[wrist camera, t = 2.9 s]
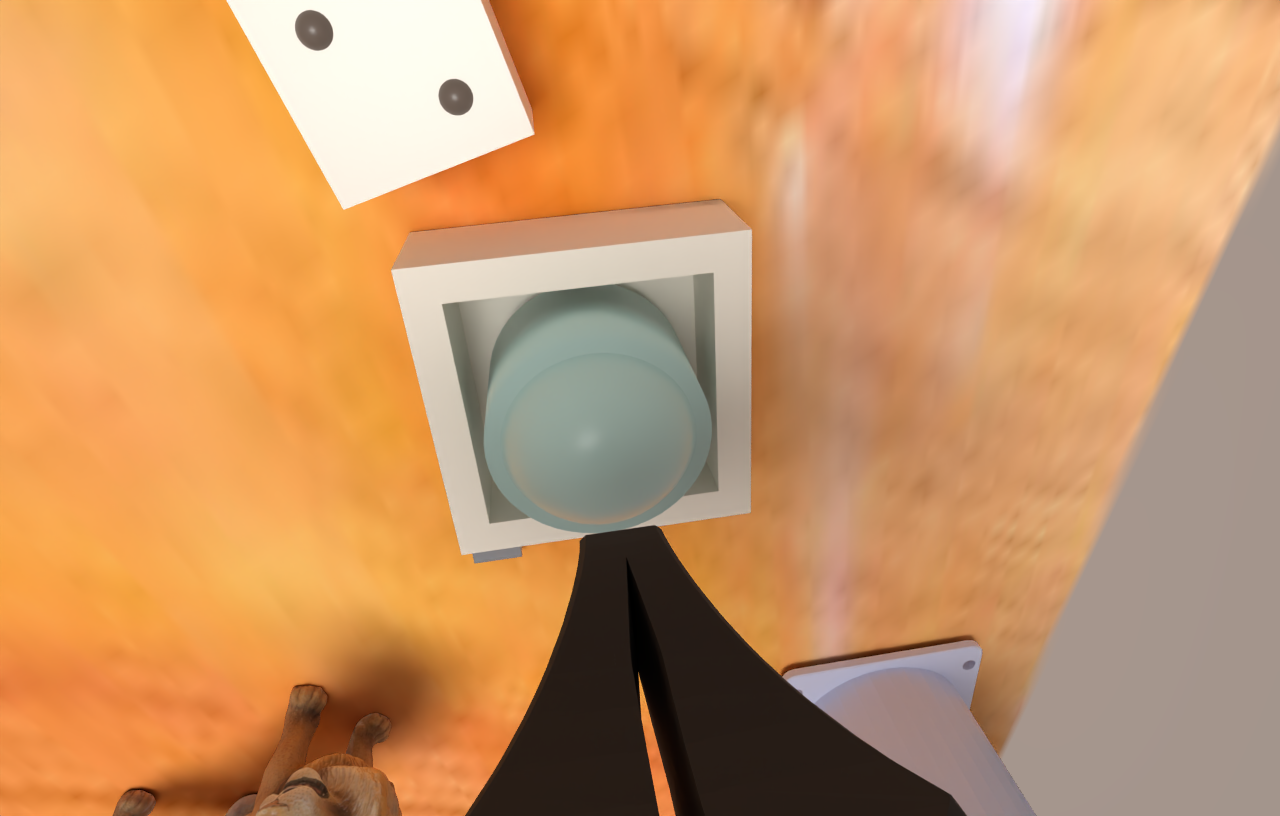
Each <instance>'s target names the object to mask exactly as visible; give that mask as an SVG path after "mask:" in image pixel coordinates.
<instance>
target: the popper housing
mask: <svg viewBox="0 0 1280 816" xmlns="http://www.w3.org/2000/svg"><path fill="white" fill-rule="evenodd" d="M391 271H392V275H393V280H394V284H395V288H396V292H397V296H398V300H399V304H400V308H401V312H402V316H403V320H404V324H405V328H406V332H407V336H408V340H409V344H410V348H411V352H412V356H413V360H414V364H415V368H416V372H417V376H418V381H419V385H420V389H421V393H422V397H423V401H424V405H425V409H426V413H427V417H428V421H429V425H430V429H431V433H432V437H433V441H434V445H435V449H436V453H437V457H438V461H439V465H440V469H441V473H442V477H443V482H444V486H445V490H446V494H447V498H448V502H449V506H450V510H451V514H452V518H453V522H454V526H455V530H456V534H457V538H458V542H459V546H460V550H461V554H462V555H465V554H472V553H479V552H486V551H493V550H500V549H507V548H513V547H520V546H527V545H534V544H541V543H548V542H554V541H561V540H568V539H575V538H582V537H584V536H585V535H589V534H596V533H579V532H570V531H565V530H561V529H557V528H553V527H551V526H548V525H545V524H542V523H540V522H538V521H536V520H534V519H532V518H530V517H529V516H527V515H526V514H524V513H523V512H521V511H520V510H519V509H517V508H516V507H515V506H514V505H513V504H512V503H510V502H509V500H508V499H507V498H506V497H505V496H504V495H503V494H502V493H501V491H500V490H499V488H498V487H497V485H496V484H495V482H494V480H493V478H492V476H491V474H490V471H489V469H488V465H487V462H486V459H485V452H484V425H485V414H486V403H487V392H488V381H489V370H490V361H491V356H492V351H493V348H494V345H495V342H496V340H497V338H498V336H499V334H500V332H501V330H502V328H503V327H504V326H505V324H506V323H507V321H508V320H509V319H510V318H511V317H512V315H513V314H514V313H515V312H516V311H517V310H518V309H519V308H521V307H522V306H523V305H524V304H525V303H527V302H528V301H530V300H531V299H533V298H534V297H536V296H538V295H539V294H541V293H544V292H550V291H558V290H567V289H576V288H584V287H593V286H601V285H610V284H612V285H617V286H620V287H623V288H626V289H629V290H631V291H633V292H635V293H637V294H639V295H641V296H642V297H644V298H645V299H647V300H648V301H650V302H651V303H652V304H653V305H655V306H656V307H657V308H658V309H659V310H660V311H661V312H662V313H663V315H664V316H665V317H666V318H667V319H668V321H669V322H670V324H671V326H672V327H673V329H674V331H675V333H676V335H677V337H678V339H679V341H680V343H681V346H682V348H683V350H684V352H685V354H686V356H687V358H688V361H689V363H690V365H691V367H692V369H693V371H694V373H695V375H696V378H697V380H698V382H699V384H700V386H701V388H702V391H703V393H704V395H705V397H706V400H707V402H708V406H709V410H710V414H711V422H712V438H711V444H710V449H709V453H708V456H707V459H706V462H705V465H704V467H703V469H702V471H701V473H700V474H699V476H698V478H697V479H696V481H695V482H694V484H693V485H692V486H691V488H690V489H689V490H688V491H687V492H686V493H685V494H684V496H683V497H681V498H680V499H679V500H678V501H677V502H676V503H675V504H674V505H672V506H671V507H670V508H668V509H667V510H665V511H664V512H663V513H661V514H659V515H657V516H656V517H654V518H652V519H650V520H648V521H646V522H643V523H641V524H639V525H636V526H633V527H630V528H626V529H631V528H638V527H644V526H651V525H656V526H664V525H671V524H678V523H684V522H691V521H698V520H705V519H712V518H719V517H725V516H732V515H739V514H746V513H751V337H752V229H751V228H750V227H749V226H748V225H747V224H746V223H745V222H744V221H743V220H742V219H741V218H740V217H739V216H738V215H736V214H735V213H734V212H733V211H732V210H731V209H730V208H729V207H728V206H727V205H726V204H725V203H724V202H723V201H722V200H721V199H716V200H707V201H697V202H688V203H679V204H670V205H660V206H651V207H642V208H632V209H623V210H614V211H604V212H595V213H586V214H576V215H567V216H558V217H549V218H539V219H530V220H521V221H511V222H502V223H493V224H483V225H474V226H465V227H455V228H446V229H437V230H428V231H418V232H410V233H409V235H408V237H407V239H406V241H405V243H404V245H403V247H402V249H401V251H400V253H399V255H398V257H397V259H396V261H395V263H394V265H393V267H392V269H391ZM622 530H624V529H622Z"/></svg>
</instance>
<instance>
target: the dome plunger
mask: <svg viewBox="0 0 1280 816" xmlns="http://www.w3.org/2000/svg"><path fill="white" fill-rule="evenodd" d="M711 438H712V422H711V414H710V410H709V406H708V402H707V400H706V397H705V395H704V393H703V391H702V388H701V386H700V384H699V382H698V380H697V378H696V375H695V373H694V371H693V369H692V367H691V365H690V363H689V361H688V358H687V356H686V354H685V352H684V350H683V348H682V346H681V343H680V341H679V339H678V337H677V335H676V333H675V331H674V329H673V327H672V326H671V324H670V322H669V321H668V319H667V318H666V317H665V316H664V315H663V313H662V312H661V311H660V310H659V309H658V308H657V307H656V306H655V305H653V304H652V303H651V302H650V301H648V300H647V299H645V298H644V297H642V296H641V295H639V294H637V293H635V292H633V291H631V290H629V289H626V288H623V287H620V286H617V285H612V284H610V285H601V286H593V287H584V288H576V289H567V290H558V291H550V292H544V293H541V294H539V295H538V296H536V297H534V298H533V299H531V300H530V301H528V302H527V303H525V304H524V305H523V306H522V307H521V308H519V309H518V310H517V311H516V312H515V313H514V314H513V315H512V317H511V318H510V319H509V320H508V321H507V323H506V324H505V326H504V327H503V328H502V330H501V332H500V334H499V336H498V338H497V340H496V342H495V345H494V348H493V351H492V356H491V361H490V370H489V381H488V392H487V403H486V414H485V425H484V452H485V459H486V462H487V465H488V469H489V471H490V474H491V476H492V478H493V480H494V482H495V484H496V485H497V487H498V488H499V490H500V491H501V493H502V494H503V495H504V496H505V497H506V498H507V499H508V500H509V502H510V503H512V504H513V505H514V506H515V507H516V508H517V509H519V510H520V511H521V512H523V513H524V514H526V515H527V516H529V517H530V518H532V519H534V520H536V521H538V522H540V523H542V524H545V525H548V526H551V527H553V528H557V529H561V530H565V531H570V532H579V533H603V532H610V531H617V530H622V529H626V528H630V527H633V526H636V525H639V524H641V523H643V522H646V521H648V520H650V519H652V518H654V517H656V516H657V515H659V514H661V513H663V512H664V511H665V510H667V509H668V508H670V507H671V506H672V505H674V504H675V503H676V502H677V501H678V500H679V499H680V498H681V497H683V496H684V494H685V493H686V492H687V491H688V490H689V489H690V488H691V486H692V485H693V484H694V482H695V481H696V479H697V478H698V476H699V474H700V473H701V471H702V469H703V467H704V465H705V462H706V459H707V456H708V453H709V449H710V444H711Z"/></svg>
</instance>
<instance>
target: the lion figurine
mask: <svg viewBox="0 0 1280 816" xmlns="http://www.w3.org/2000/svg"><path fill="white" fill-rule="evenodd" d="M326 703H327V695H326V693H325V692H324V691H323V689H322V688H321V687H314V686H297V687H294V688H293V689H292V692H291V695H290V700H289V705H288V709H287V713H286V717H285V724H284V729H283V734H282V737H281V740H280V742H279V744H278V746H277V749H276V751H275V753H274V754H273V756H272V758H271V760H270V761H269V763H268V765H267V767H266V769H265V771H264V775H263V778H262V782H261V785H260V788H259V791H258V794H253V795H248V796H245V797H242V798H241V799H239V800H237V801H236V802H235V803H234V804H233V805H232V806H231V808H230V809H229V810H228V812H227V813H226V815H225V816H402V813H401V810H400V808H399V803H398V799H397V796H396V793H395V789H394V785H393V783H392V782H390V781H389V780H388V778H387V776H386V775H385V774H384V773H383V772H382V771H380V770H378V769H375V768H373V758H372V748H373V746H374V744H376V743H380V742H384V741H385V740H386V739H387V738H388V736H389V733H390V729H391V722H390V720H389V718H387V717H386V716H383V715H381V714H379V713H372V714H369V715H367V716H365V717H363V718H362V719H361V720H360V721H359V722H358V723H357V725H356V726H355V728H354V731H353V733H352V735H351V738H350V742H349V745H348V748H347V751H346V754H340V753H335V754H331V755H326V756H323V757H321V758H319V759H316V760H314V761H313V762H311V763H309V764H307V765H306V764H305V762H306V755H307V750H308V746H309V743H310V741H311V739H312V737H313V735H314V733H315V731H316V729H317V727H318V725H319V722H320V713H321V711H322V710H323V709H324V707H325V705H326ZM155 803H156V801H155V799H154V797H153V795H152V794H150V793H147V792H145V791H142V790H132V791H129V792H126V793H125V794H124V795H123V796H122V797H121V798H120V800H119V801H118V803H117V806H116V808H115V811H114V814H113V816H148V815H149V814H150V813H151V811H152V810H153V808H154V806H155Z"/></svg>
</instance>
